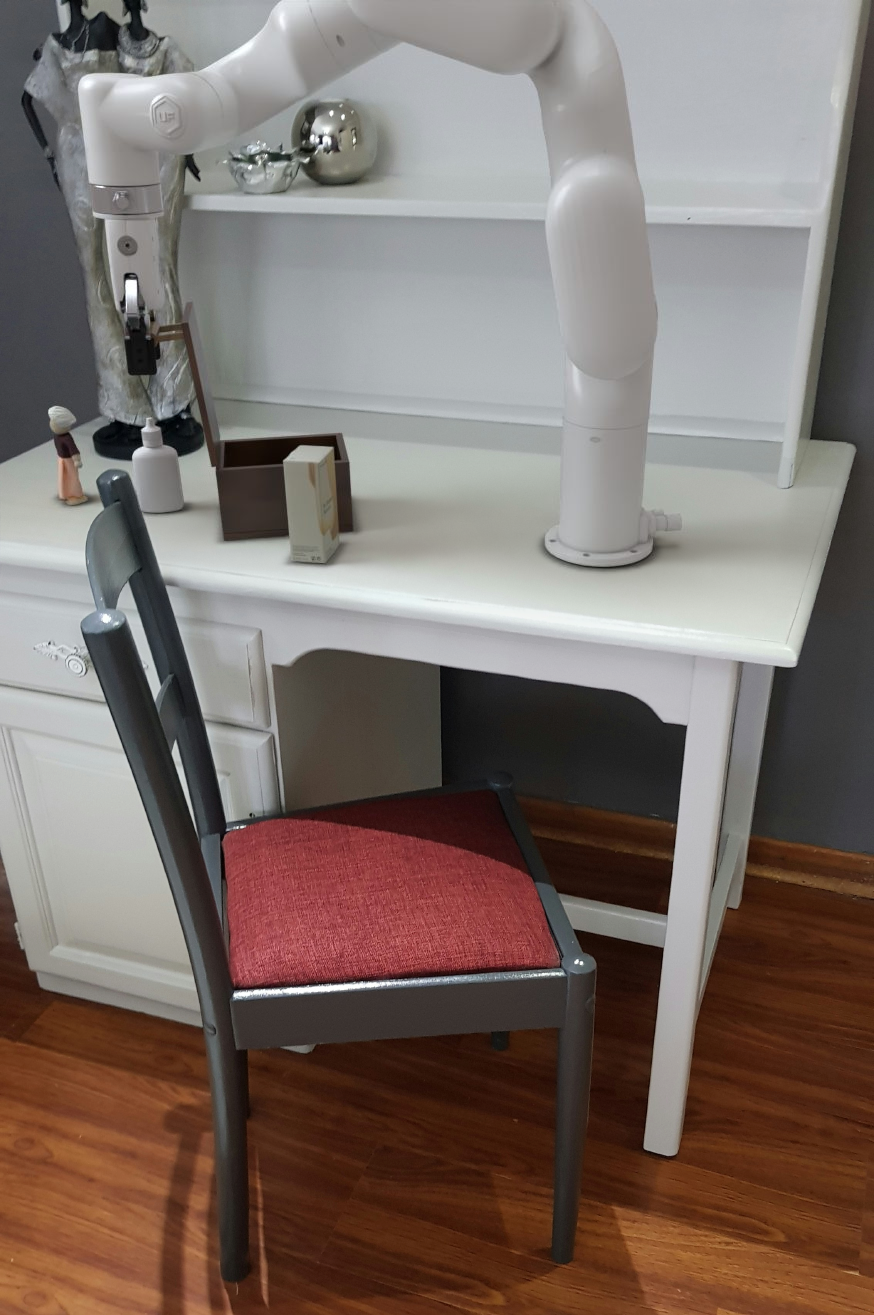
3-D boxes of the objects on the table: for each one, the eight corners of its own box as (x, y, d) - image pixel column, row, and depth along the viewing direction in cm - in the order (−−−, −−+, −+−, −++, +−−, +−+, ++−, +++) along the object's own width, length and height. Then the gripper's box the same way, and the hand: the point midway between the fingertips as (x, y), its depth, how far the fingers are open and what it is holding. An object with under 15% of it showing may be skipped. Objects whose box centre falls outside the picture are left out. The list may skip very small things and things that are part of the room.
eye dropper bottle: (154, 500, 148) (141, 411, 142) (190, 505, 146) (178, 415, 140) (134, 511, 144) (120, 421, 138) (170, 517, 142) (157, 425, 136)
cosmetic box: (326, 565, 128) (318, 463, 122) (290, 562, 129) (281, 461, 123) (341, 543, 133) (335, 445, 128) (306, 541, 134) (299, 443, 128)
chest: (346, 498, 147) (342, 432, 143) (353, 531, 137) (349, 461, 133) (225, 506, 145) (217, 440, 141) (223, 540, 135) (215, 470, 131)
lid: (192, 301, 132) (143, 308, 132) (188, 322, 122) (135, 329, 122) (220, 436, 141) (174, 443, 140) (218, 466, 130) (168, 473, 130)
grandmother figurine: (46, 497, 149) (28, 404, 143) (72, 490, 152) (55, 398, 146) (77, 511, 145) (60, 415, 138) (103, 503, 147) (87, 408, 141)
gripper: (157, 212, 114) (174, 386, 123) (167, 191, 129) (181, 348, 138) (81, 212, 113) (104, 388, 122) (100, 191, 128) (119, 349, 136)
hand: (144, 365), depth 129 cm, fingers closed on lid, 6 cm apart
